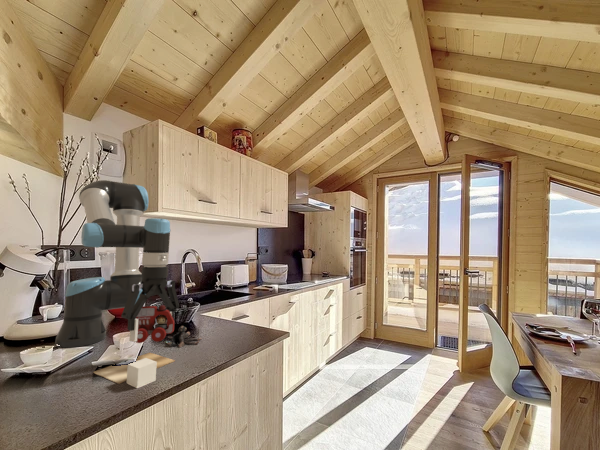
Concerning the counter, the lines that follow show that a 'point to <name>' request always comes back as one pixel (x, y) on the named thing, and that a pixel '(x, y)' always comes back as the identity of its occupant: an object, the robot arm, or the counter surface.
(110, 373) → the board
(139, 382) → the cream white cube
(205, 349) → the counter surface
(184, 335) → the stuffed animal
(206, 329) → the counter surface
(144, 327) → the toy fire truck
